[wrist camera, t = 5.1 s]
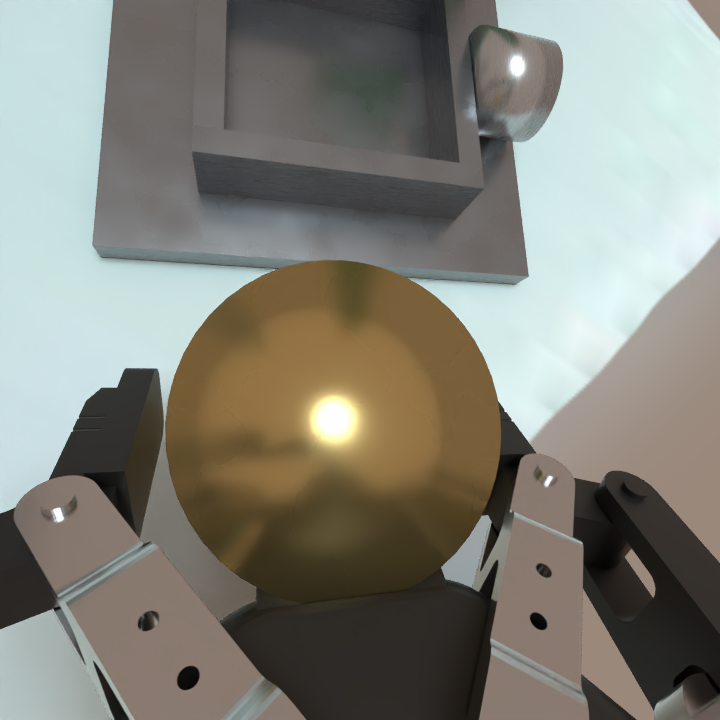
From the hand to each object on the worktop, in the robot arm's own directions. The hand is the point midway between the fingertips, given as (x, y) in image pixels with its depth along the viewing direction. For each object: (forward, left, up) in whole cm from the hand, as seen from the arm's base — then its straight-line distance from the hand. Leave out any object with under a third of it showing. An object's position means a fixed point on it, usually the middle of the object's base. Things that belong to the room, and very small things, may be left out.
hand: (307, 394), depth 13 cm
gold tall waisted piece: (0, -1, -5) cm, 5 cm away
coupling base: (+2, +14, -5) cm, 15 cm away
